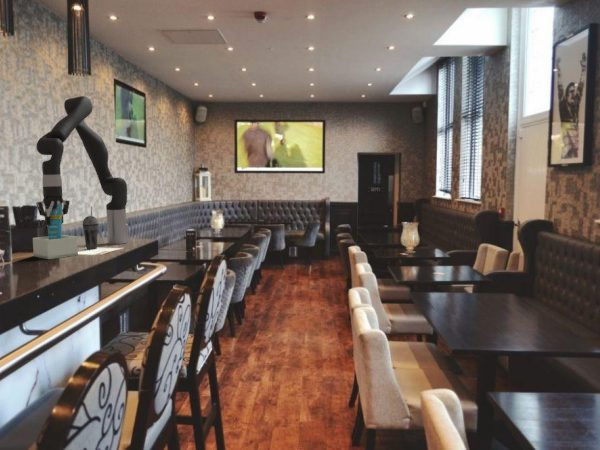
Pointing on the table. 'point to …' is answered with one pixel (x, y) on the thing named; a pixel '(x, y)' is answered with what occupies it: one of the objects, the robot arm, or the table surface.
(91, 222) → the beverage cup
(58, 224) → the tube
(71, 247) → the bin
